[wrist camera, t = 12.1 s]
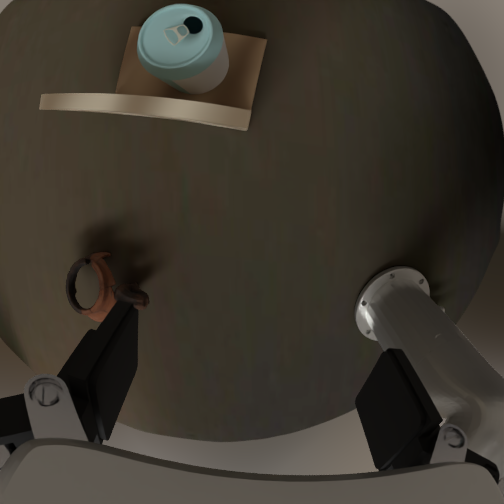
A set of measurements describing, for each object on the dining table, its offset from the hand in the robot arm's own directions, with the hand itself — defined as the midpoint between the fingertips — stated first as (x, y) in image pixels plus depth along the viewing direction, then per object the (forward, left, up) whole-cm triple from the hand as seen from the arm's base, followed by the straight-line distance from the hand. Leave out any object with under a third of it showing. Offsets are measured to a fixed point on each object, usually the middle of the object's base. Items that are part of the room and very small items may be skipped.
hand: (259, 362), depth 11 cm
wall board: (+10, -13, -28) cm, 32 cm away
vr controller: (+16, +15, -28) cm, 35 cm away
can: (+9, -14, -26) cm, 31 cm away
